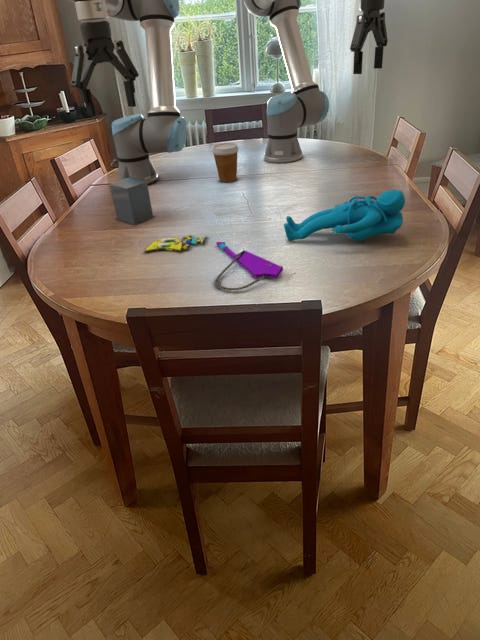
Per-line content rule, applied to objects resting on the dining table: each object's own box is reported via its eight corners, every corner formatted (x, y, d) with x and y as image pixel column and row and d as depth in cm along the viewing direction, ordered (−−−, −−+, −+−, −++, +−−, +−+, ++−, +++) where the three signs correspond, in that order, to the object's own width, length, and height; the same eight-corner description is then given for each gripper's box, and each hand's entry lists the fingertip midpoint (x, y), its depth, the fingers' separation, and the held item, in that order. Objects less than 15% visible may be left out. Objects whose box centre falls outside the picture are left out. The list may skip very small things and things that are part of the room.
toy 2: (287, 204, 132) (400, 176, 122) (297, 239, 137) (406, 215, 127) (278, 228, 119) (405, 199, 108) (290, 266, 124) (412, 242, 113)
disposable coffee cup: (210, 183, 175) (207, 149, 168) (221, 175, 182) (218, 142, 175) (235, 184, 171) (232, 149, 165) (244, 176, 178) (242, 142, 172)
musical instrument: (257, 302, 103) (298, 254, 115) (255, 294, 102) (297, 246, 114) (172, 286, 116) (218, 244, 128) (170, 279, 114) (216, 237, 127)
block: (134, 224, 146) (127, 188, 140) (117, 219, 151) (108, 183, 145) (153, 217, 150) (146, 181, 144) (135, 211, 155) (128, 177, 149)
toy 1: (199, 248, 125) (143, 249, 127) (199, 251, 125) (144, 252, 127) (206, 233, 133) (154, 234, 135) (206, 236, 133) (154, 237, 136)
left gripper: (57, 24, 112) (81, 120, 124) (141, 16, 127) (155, 103, 139) (42, 26, 117) (65, 118, 128) (124, 18, 132) (139, 102, 143)
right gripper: (362, -4, 141) (358, 76, 153) (402, -7, 156) (395, 66, 168) (340, -2, 146) (338, 76, 157) (381, -5, 161) (376, 66, 172)
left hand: (112, 111), depth 133 cm, fingers open, 13 cm apart
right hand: (367, 71), depth 162 cm, fingers open, 13 cm apart
